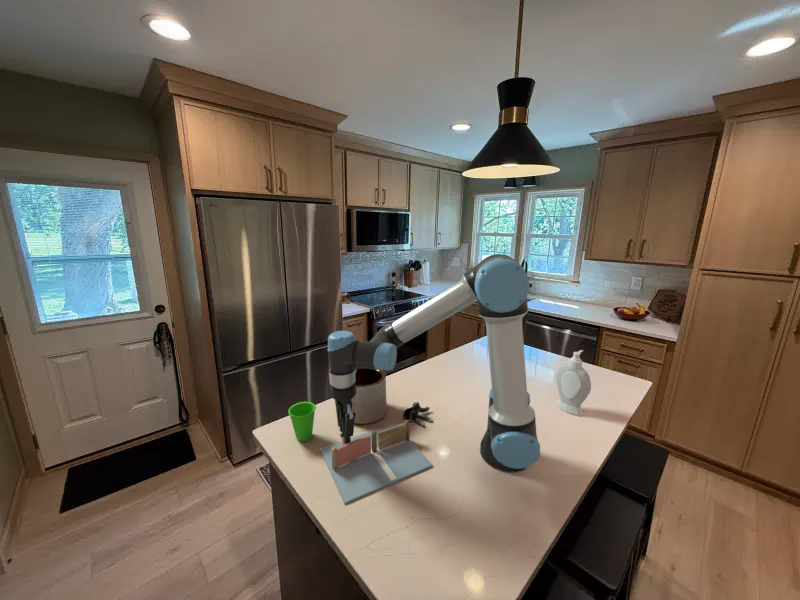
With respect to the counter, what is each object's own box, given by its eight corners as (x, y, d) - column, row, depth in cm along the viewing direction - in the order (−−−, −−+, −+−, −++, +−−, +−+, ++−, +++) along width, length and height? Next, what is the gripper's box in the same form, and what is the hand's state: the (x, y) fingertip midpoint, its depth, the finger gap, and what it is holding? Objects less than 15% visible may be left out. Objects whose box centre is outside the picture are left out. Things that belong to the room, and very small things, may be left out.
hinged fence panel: (369, 450, 103) (368, 432, 102) (371, 452, 102) (371, 435, 100) (331, 466, 96) (330, 448, 94) (333, 470, 95) (332, 451, 93)
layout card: (432, 466, 98) (432, 464, 98) (344, 504, 85) (344, 502, 84) (395, 424, 118) (395, 422, 118) (319, 449, 105) (319, 447, 105)
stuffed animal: (415, 429, 114) (400, 400, 120) (407, 440, 121) (393, 412, 127) (441, 418, 120) (425, 391, 127) (431, 429, 127) (417, 402, 133)
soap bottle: (591, 412, 125) (601, 354, 120) (583, 420, 121) (592, 360, 115) (558, 399, 135) (565, 344, 130) (549, 405, 131) (556, 349, 125)
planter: (390, 422, 119) (389, 384, 116) (341, 428, 116) (339, 389, 112) (382, 398, 136) (382, 363, 132) (340, 402, 133) (338, 367, 129)
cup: (289, 448, 106) (287, 418, 103) (291, 431, 114) (288, 403, 112) (318, 443, 108) (316, 414, 106) (317, 427, 117) (315, 399, 114)
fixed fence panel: (410, 441, 109) (410, 421, 107) (373, 455, 102) (372, 434, 101) (407, 438, 110) (408, 419, 109) (371, 452, 104) (370, 431, 102)
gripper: (363, 389, 91) (365, 459, 97) (347, 371, 102) (350, 435, 108) (337, 396, 87) (341, 468, 93) (324, 376, 98) (328, 442, 104)
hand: (346, 450), depth 100 cm, fingers closed
